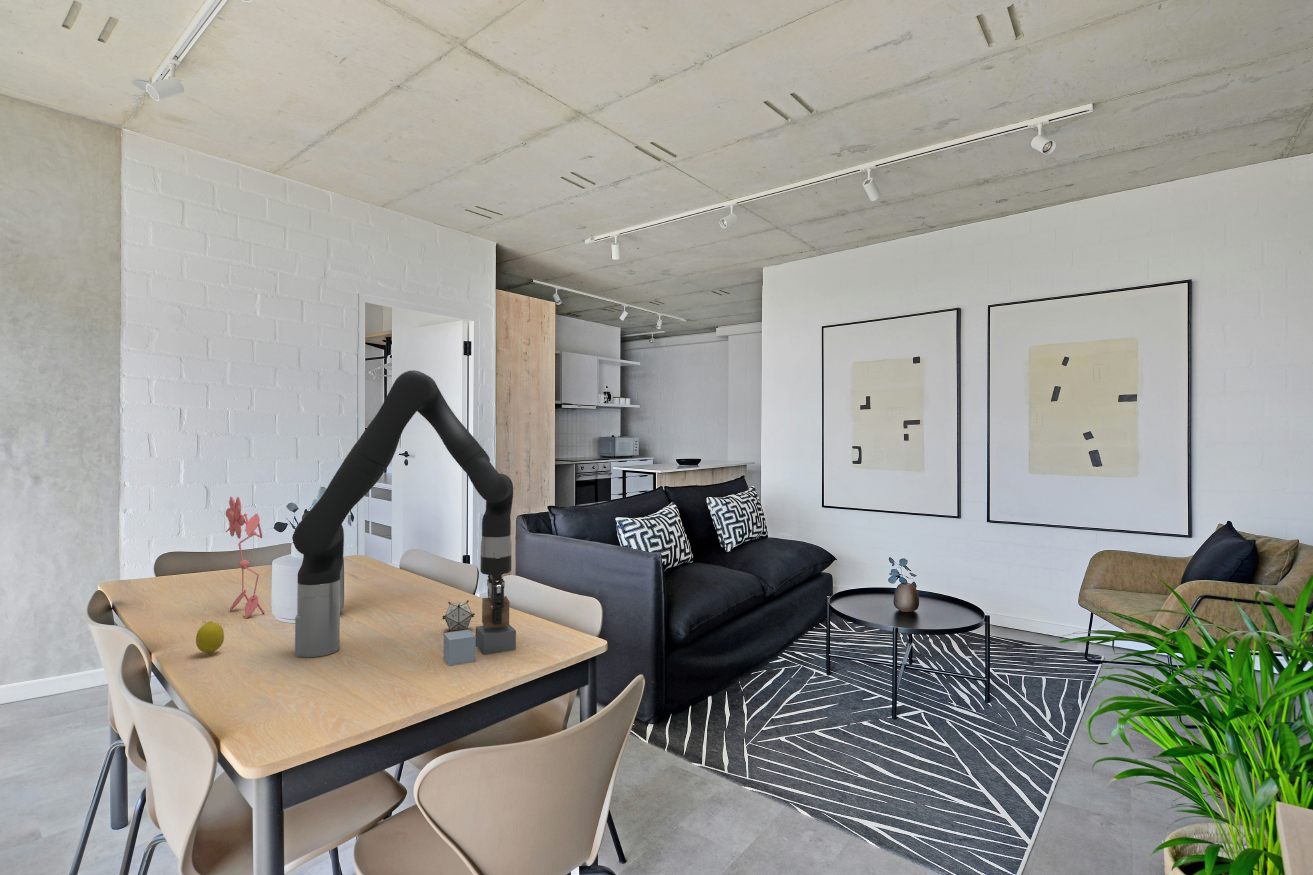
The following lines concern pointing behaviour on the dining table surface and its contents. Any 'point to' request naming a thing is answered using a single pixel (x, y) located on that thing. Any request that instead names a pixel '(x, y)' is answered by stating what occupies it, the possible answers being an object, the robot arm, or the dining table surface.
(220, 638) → the lemon
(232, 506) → the pink stick figure
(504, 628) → the charcoal block
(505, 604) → the walnut cube
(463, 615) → the game die
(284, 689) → the dining table surface
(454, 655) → the slate cube
